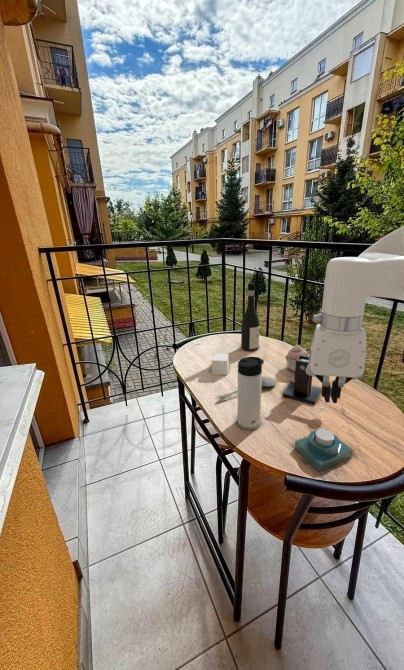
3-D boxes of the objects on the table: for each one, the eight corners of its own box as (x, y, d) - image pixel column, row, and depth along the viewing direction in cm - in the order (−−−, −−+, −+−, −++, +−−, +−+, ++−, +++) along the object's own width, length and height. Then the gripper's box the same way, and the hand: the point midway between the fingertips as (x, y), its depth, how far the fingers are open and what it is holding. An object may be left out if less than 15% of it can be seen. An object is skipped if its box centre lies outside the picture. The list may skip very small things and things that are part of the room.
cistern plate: (325, 436, 73) (327, 423, 72) (351, 457, 66) (354, 443, 65) (294, 448, 70) (295, 434, 68) (318, 471, 63) (320, 457, 61)
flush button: (324, 433, 69) (324, 427, 68) (337, 443, 65) (338, 437, 65) (311, 437, 68) (312, 431, 67) (324, 448, 64) (324, 442, 63)
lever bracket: (320, 391, 93) (325, 356, 88) (314, 405, 86) (319, 367, 81) (290, 384, 98) (293, 350, 94) (282, 396, 91) (285, 361, 87)
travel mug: (259, 433, 75) (261, 366, 68) (235, 428, 77) (235, 363, 70) (262, 419, 81) (265, 355, 74) (240, 414, 83) (240, 353, 76)
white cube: (211, 374, 107) (211, 360, 105) (213, 367, 112) (213, 353, 110) (227, 375, 106) (227, 360, 104) (228, 368, 111) (228, 354, 109)
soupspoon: (279, 388, 97) (266, 381, 102) (279, 379, 96) (266, 372, 102) (225, 405, 87) (214, 396, 93) (225, 395, 86) (214, 387, 92)
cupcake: (315, 371, 106) (317, 347, 102) (294, 376, 103) (296, 351, 99) (299, 361, 114) (301, 339, 110) (279, 366, 111) (281, 342, 108)
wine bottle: (262, 347, 129) (264, 282, 119) (252, 353, 124) (254, 285, 113) (247, 343, 134) (248, 281, 124) (237, 349, 129) (238, 283, 118)
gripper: (302, 325, 54) (295, 406, 61) (390, 328, 51) (373, 413, 57) (298, 315, 61) (292, 388, 68) (376, 316, 58) (362, 393, 64)
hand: (329, 399), depth 63 cm, fingers closed
